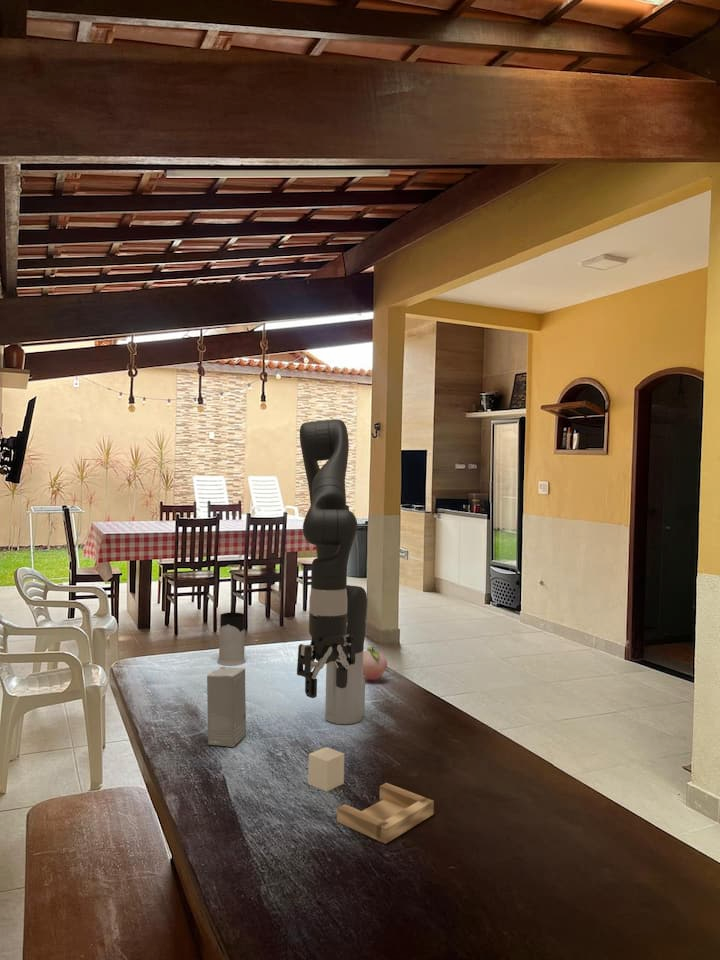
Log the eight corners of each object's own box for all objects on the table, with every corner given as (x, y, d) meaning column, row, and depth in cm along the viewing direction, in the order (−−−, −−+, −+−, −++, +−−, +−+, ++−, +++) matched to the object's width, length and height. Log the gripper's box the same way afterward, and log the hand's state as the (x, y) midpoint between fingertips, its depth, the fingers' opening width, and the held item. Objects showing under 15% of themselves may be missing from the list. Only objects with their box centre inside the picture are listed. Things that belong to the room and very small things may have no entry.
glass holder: (213, 664, 226) (214, 616, 226) (229, 653, 240) (229, 608, 240) (240, 666, 225) (241, 618, 225) (254, 655, 239) (255, 609, 239)
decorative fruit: (351, 678, 215) (352, 644, 215) (376, 675, 219) (377, 642, 219) (365, 687, 207) (366, 652, 207) (390, 684, 210) (391, 649, 210)
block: (325, 776, 147) (325, 746, 147) (343, 783, 144) (344, 753, 144) (308, 784, 144) (308, 754, 143) (326, 791, 140) (327, 761, 140)
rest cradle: (385, 795, 139) (386, 782, 139) (433, 814, 132) (433, 800, 132) (336, 821, 128) (337, 807, 128) (385, 843, 121) (386, 829, 121)
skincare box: (234, 748, 160) (235, 677, 160) (203, 745, 162) (205, 674, 162) (247, 734, 169) (248, 667, 168) (218, 731, 170) (219, 664, 170)
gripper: (338, 603, 151) (336, 680, 151) (288, 612, 140) (287, 696, 141) (366, 608, 146) (364, 688, 146) (316, 618, 135) (314, 705, 136)
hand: (326, 692), depth 143 cm, fingers open, 8 cm apart
